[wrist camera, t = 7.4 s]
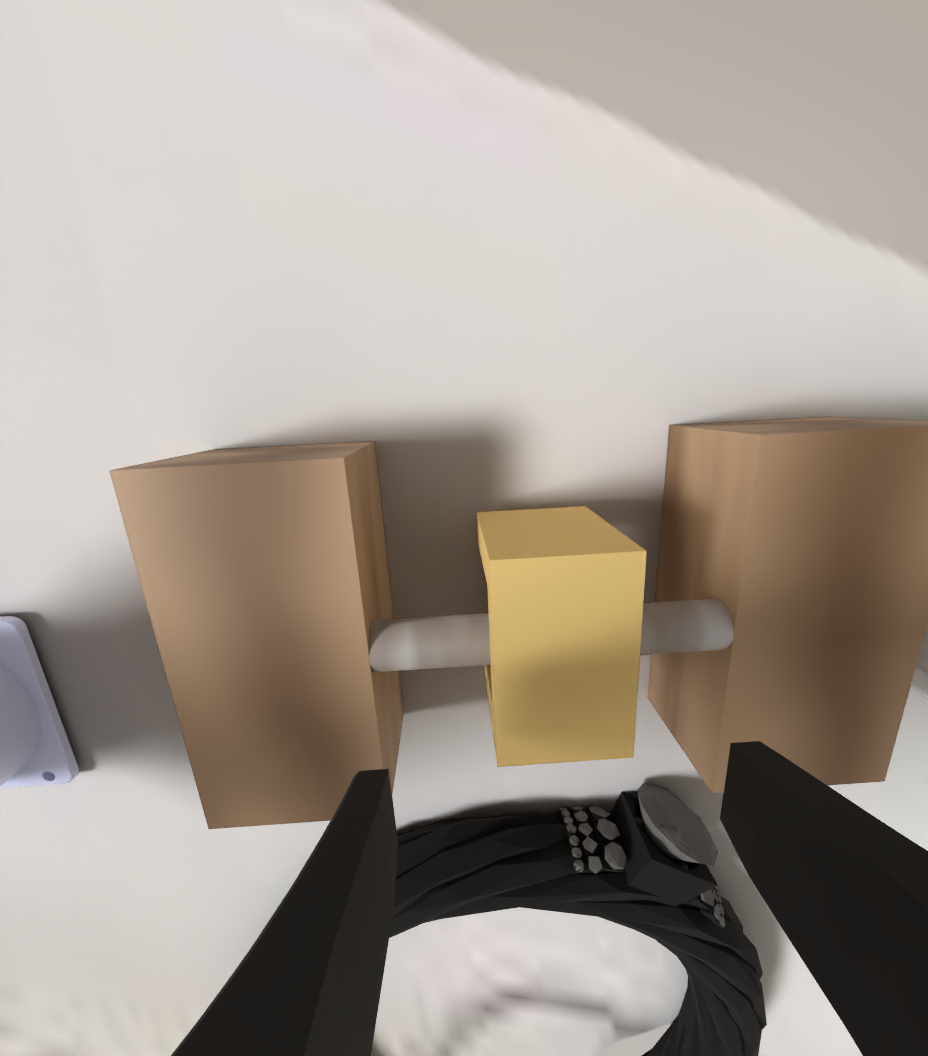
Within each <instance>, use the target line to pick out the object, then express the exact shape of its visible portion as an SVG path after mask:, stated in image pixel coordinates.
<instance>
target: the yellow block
mask: <svg viewBox="0 0 928 1056" xmlns="http://www.w3.org/2000/svg"><path fill="white" fill-rule="evenodd" d="M477 527H478V545H479V549H480V554H481V558H482V563H483V568H484V572H485V577H486V581H487V587H488V612H489V637H490V662H491V665H484V672H485V679H486V686H487V694H488V701H489V708H490V715H491V723H492V730H493V737H494V745H495V752H496V759H497V767H502V766H517V765H531V764H545V763H560V762H574V761H589V760H603V759H617V758H632V757H633V754H634V738H635V723H636V707H637V692H638V677H639V661H640V646H641V630H642V615H643V599H644V584H645V569H646V553H647V551H646V550H645V549H643V548H642V547H641V546H639V545H638V544H636V543H635V542H634V541H632V540H631V539H630V538H628V537H627V536H625V535H624V534H623V533H621V532H620V531H619V530H617V529H616V528H615V527H613V526H612V525H610V524H609V523H608V522H606V521H605V520H604V519H602V518H601V517H599V516H598V515H597V514H595V513H594V512H593V511H591V510H590V509H588V508H587V507H586V506H577V507H559V508H542V509H525V510H508V511H490V512H477Z"/></svg>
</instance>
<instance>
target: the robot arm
mask: <svg viewBox="0 0 928 1056" xmlns="http://www.w3.org/2000/svg"><path fill="white" fill-rule="evenodd" d="M78 773H79V768H78V765H77V762H76V760H75V757H74V754H73V751H72V749H71V746H70V743H69V741H68V738H67V735H66V732H65V730H64V727H63V724H62V721H61V719H60V716H59V713H58V711H57V708H56V705H55V702H54V700H53V697H52V694H51V691H50V689H49V686H48V683H47V681H46V678H45V675H44V672H43V670H42V667H41V664H40V661H39V659H38V656H37V653H36V651H35V648H34V645H33V642H32V640H31V637H30V634H29V631H28V629H27V626H26V624H25V623H24V622H23V621H22V620H21V619H19V618H17V617H13V616H3V617H0V788H8V787H22V786H37V785H52V784H65V783H69V782H71V781H72V780H73V779H74V778H75V777H76V776H77V775H78ZM720 820H721V822H722V824H723V826H724V828H725V830H726V832H727V834H728V836H729V838H730V840H731V842H732V844H733V846H734V848H735V850H736V852H737V854H738V856H739V858H740V859H741V861H742V863H743V865H744V867H745V869H746V871H747V873H748V875H749V876H750V878H751V880H752V881H753V883H754V884H755V886H756V888H757V889H758V891H759V892H760V894H761V896H762V897H763V899H764V900H765V902H766V904H767V905H768V907H769V908H770V910H771V911H772V913H773V915H774V916H775V918H776V919H777V921H778V922H779V924H780V926H781V927H782V929H783V930H784V932H785V933H786V935H787V936H788V938H789V940H790V941H791V943H792V944H793V946H794V947H795V949H796V950H797V952H798V954H799V955H800V957H801V958H802V960H803V961H804V963H805V964H806V966H807V968H808V969H809V971H810V972H811V974H812V975H813V977H814V978H815V980H816V982H817V983H818V985H819V986H820V988H821V989H822V991H823V992H824V994H825V996H826V997H827V999H828V1000H829V1002H830V1003H831V1005H832V1006H833V1008H834V1010H835V1011H836V1013H837V1014H838V1016H839V1017H840V1019H841V1020H842V1022H843V1024H844V1025H845V1027H846V1028H847V1030H848V1032H849V1033H850V1035H851V1037H852V1038H853V1040H854V1041H855V1043H856V1045H857V1046H858V1048H859V1050H860V1051H861V1053H862V1055H863V1056H928V851H927V850H925V849H924V848H922V847H920V846H919V845H917V844H916V843H914V842H912V841H911V840H909V839H908V838H906V837H905V836H903V835H902V834H900V833H898V832H897V831H895V830H894V829H892V828H891V827H889V826H888V825H886V824H885V823H883V822H881V821H880V820H878V819H877V818H875V817H874V816H872V815H871V814H869V813H868V812H866V811H865V810H863V809H862V808H860V807H859V806H857V805H856V804H854V803H853V802H851V801H850V800H848V799H847V798H845V797H844V796H842V795H841V794H839V793H838V792H836V791H835V790H833V789H832V788H830V787H829V786H827V785H826V784H824V783H823V782H821V781H820V780H818V779H817V778H815V777H814V776H812V775H811V774H809V773H808V772H806V771H805V770H803V769H802V768H800V767H799V766H797V765H796V764H794V763H793V762H791V761H790V760H788V759H787V758H785V757H784V756H782V755H781V754H779V753H778V752H776V751H774V750H773V749H771V748H770V747H768V746H767V745H765V744H763V743H762V742H760V741H751V742H738V743H731V744H730V751H729V758H728V766H727V773H726V780H725V787H724V794H723V801H722V808H721V815H720ZM397 852H398V840H397V832H396V824H395V816H394V808H393V801H392V793H391V785H390V777H389V769H378V770H364V771H359V772H358V773H357V774H356V775H355V776H354V777H353V779H352V781H351V783H350V785H349V787H348V789H347V791H346V793H345V795H344V797H343V799H342V801H341V803H340V805H339V807H338V808H337V810H336V812H335V814H334V816H333V818H332V819H331V821H330V823H329V825H328V826H327V828H326V830H325V832H324V834H323V835H322V837H321V839H320V840H319V842H318V844H317V845H316V847H315V849H314V850H313V852H312V854H311V855H310V857H309V859H308V860H307V862H306V864H305V865H304V867H303V869H302V870H301V872H300V874H299V875H298V877H297V879H296V880H295V882H294V884H293V885H292V887H291V888H290V890H289V891H288V893H287V894H286V896H285V898H284V899H283V901H282V902H281V904H280V905H279V907H278V908H277V910H276V911H275V913H274V914H273V916H272V917H271V919H270V920H269V922H268V923H267V925H266V926H265V928H264V929H263V931H262V932H261V934H260V935H259V937H258V938H257V940H256V941H255V943H254V944H253V946H252V947H251V949H250V950H249V952H248V953H247V954H246V956H245V957H244V959H243V960H242V962H241V963H240V964H239V966H238V967H237V969H236V970H235V971H234V973H233V974H232V976H231V977H230V978H229V980H228V981H227V983H226V984H225V985H224V987H223V988H222V989H221V991H220V992H219V993H218V995H217V996H216V997H215V999H214V1000H213V1002H212V1003H211V1004H210V1006H209V1007H208V1008H207V1010H206V1011H205V1012H204V1014H203V1015H202V1016H201V1018H200V1019H199V1020H198V1022H197V1023H196V1024H195V1026H194V1027H193V1028H192V1030H191V1031H190V1032H189V1033H188V1035H187V1036H186V1037H185V1038H184V1040H183V1041H182V1042H181V1044H180V1045H179V1046H178V1047H177V1049H176V1050H175V1051H174V1052H173V1054H172V1055H171V1056H371V1049H372V1043H373V1037H374V1030H375V1024H376V1017H377V1011H378V1005H379V998H380V992H381V985H382V979H383V973H384V966H385V960H386V953H387V947H388V940H389V934H390V927H391V921H392V914H393V907H394V896H395V883H396V868H397Z"/></svg>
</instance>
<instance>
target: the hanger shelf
mask: <svg viewBox="0 0 928 1056" xmlns="http://www.w3.org/2000/svg"><path fill="white" fill-rule="evenodd" d="M110 475H111V478H112V482H113V486H114V489H115V493H116V496H117V500H118V504H119V507H120V511H121V515H122V518H123V522H124V525H125V529H126V533H127V536H128V540H129V543H130V547H131V551H132V554H133V558H134V561H135V565H136V569H137V572H138V576H139V579H140V583H141V587H142V590H143V594H144V597H145V601H146V605H147V608H148V612H149V615H150V619H151V623H152V626H153V630H154V634H155V637H156V641H157V644H158V648H159V652H160V655H161V659H162V662H163V666H164V670H165V673H166V677H167V680H168V684H169V688H170V691H171V695H172V698H173V702H174V706H175V709H176V713H177V716H178V720H179V724H180V727H181V731H182V734H183V738H184V742H185V745H186V749H187V753H188V756H189V760H190V763H191V767H192V771H193V774H194V778H195V781H196V785H197V789H198V792H199V796H200V799H201V803H202V807H203V810H204V814H205V817H206V821H207V825H208V828H209V829H216V828H230V827H244V826H258V825H273V824H287V823H301V822H315V821H329V820H331V819H332V818H333V816H334V814H335V812H336V810H337V808H338V807H339V805H340V803H341V801H342V799H343V797H344V795H345V793H346V791H347V789H348V787H349V785H350V783H351V781H352V779H353V777H354V776H355V775H356V774H357V773H358V772H359V771H364V770H378V769H389V777H390V785H391V793H392V792H393V785H394V778H395V771H396V764H397V757H398V750H399V742H400V735H401V728H402V721H403V704H402V695H401V686H400V676H399V671H401V670H417V669H432V668H448V667H464V666H479V665H491V662H490V637H489V613H476V614H459V615H443V616H427V617H411V618H395V619H393V610H392V600H391V591H390V581H389V572H388V562H387V553H386V543H385V534H384V524H383V515H382V505H381V496H380V486H379V477H378V467H377V458H376V448H375V441H367V442H349V443H330V444H312V445H293V446H274V447H256V448H237V449H219V450H208V451H203V452H198V453H193V454H188V455H183V456H178V457H174V458H169V459H164V460H159V461H154V462H149V463H144V464H139V465H134V466H129V467H124V468H120V469H115V470H110ZM927 623H928V421H919V420H894V419H869V418H844V417H814V418H795V419H776V420H758V421H739V422H721V423H702V424H683V425H669V436H668V448H667V461H666V474H665V487H664V499H663V512H662V525H661V537H660V550H659V563H658V575H657V588H656V601H655V602H653V603H643V615H642V630H641V646H640V655H651V664H650V677H649V689H648V699H649V701H650V702H651V704H652V705H653V706H654V708H655V709H656V711H657V712H658V714H659V715H660V717H661V718H662V720H663V721H664V723H665V724H666V726H667V727H668V729H669V730H670V732H671V733H672V735H673V736H674V738H675V739H676V741H677V742H678V744H679V745H680V747H681V748H682V750H683V751H684V752H685V754H686V755H687V757H688V758H689V760H690V761H691V763H692V764H693V766H694V767H695V769H696V770H697V772H698V773H699V775H700V776H701V778H702V779H703V781H704V782H705V784H706V785H707V787H708V788H709V790H710V791H711V793H724V787H725V780H726V773H727V766H728V758H729V751H730V744H731V743H738V742H751V741H760V742H762V743H763V744H765V745H767V746H768V747H770V748H771V749H773V750H774V751H776V752H778V753H779V754H781V755H782V756H784V757H785V758H787V759H788V760H790V761H791V762H793V763H794V764H796V765H797V766H799V767H800V768H802V769H803V770H805V771H806V772H808V773H809V774H811V775H812V776H814V777H815V778H817V779H818V780H820V781H821V782H823V783H824V784H826V785H838V784H853V783H867V782H881V781H885V777H886V774H887V770H888V766H889V763H890V759H891V755H892V752H893V748H894V744H895V741H896V737H897V733H898V730H899V726H900V722H901V719H902V715H903V711H904V708H905V704H906V700H907V697H908V693H909V689H910V686H911V682H912V678H913V675H914V671H915V667H916V664H917V660H918V656H919V653H920V649H921V645H922V642H923V638H924V634H925V631H926V627H927Z"/></svg>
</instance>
